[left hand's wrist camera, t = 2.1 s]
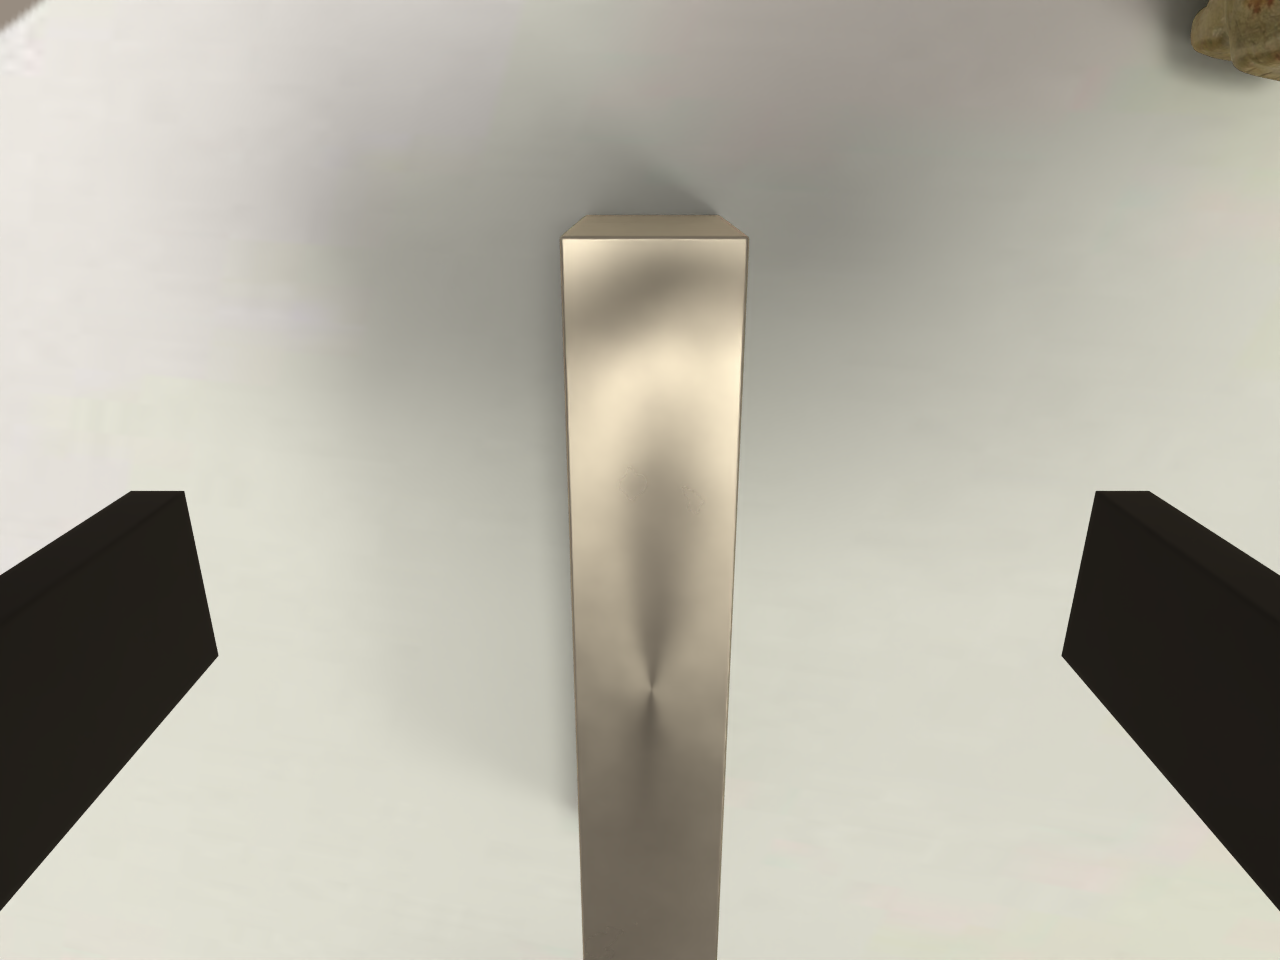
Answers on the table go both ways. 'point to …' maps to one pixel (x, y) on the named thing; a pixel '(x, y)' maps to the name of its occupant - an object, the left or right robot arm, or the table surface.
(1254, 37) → the sculpture
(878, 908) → the table surface
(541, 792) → the table surface
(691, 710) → the bar
